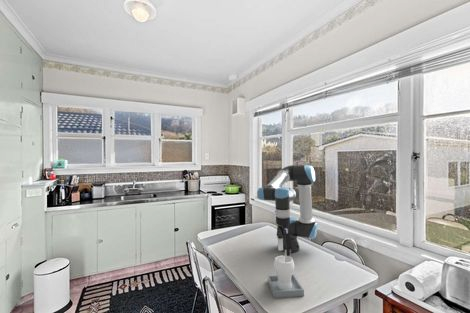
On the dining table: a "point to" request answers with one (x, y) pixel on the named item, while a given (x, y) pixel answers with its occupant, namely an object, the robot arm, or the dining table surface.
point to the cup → (284, 272)
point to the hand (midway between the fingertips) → (284, 255)
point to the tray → (278, 293)
